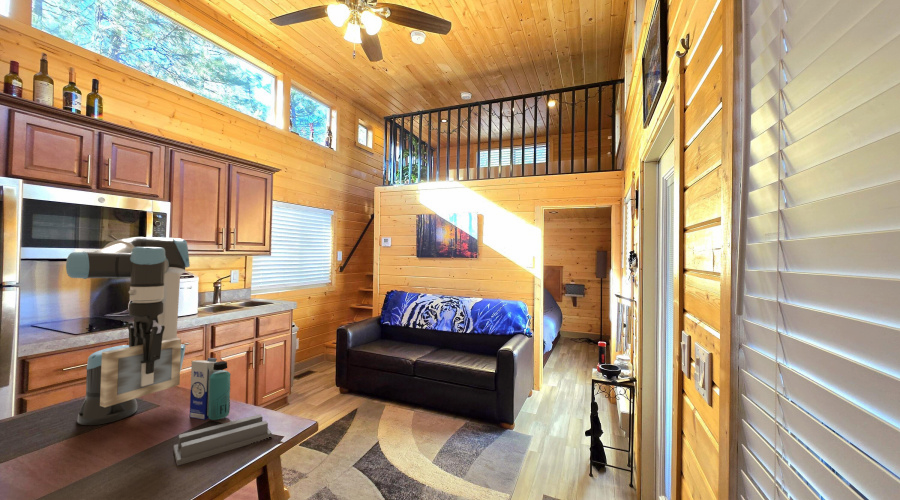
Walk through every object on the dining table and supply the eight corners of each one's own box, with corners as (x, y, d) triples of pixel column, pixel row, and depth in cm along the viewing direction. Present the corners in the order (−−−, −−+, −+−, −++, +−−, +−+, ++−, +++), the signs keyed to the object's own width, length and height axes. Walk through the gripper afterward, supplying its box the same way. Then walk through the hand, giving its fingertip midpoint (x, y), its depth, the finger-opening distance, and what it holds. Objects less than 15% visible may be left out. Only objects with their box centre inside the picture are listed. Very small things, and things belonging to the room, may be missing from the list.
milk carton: (189, 417, 126) (191, 360, 126) (206, 409, 132) (208, 355, 133) (205, 420, 124) (207, 362, 124) (222, 411, 131) (224, 357, 131)
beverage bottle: (218, 425, 121) (221, 365, 121) (202, 423, 122) (204, 364, 122) (234, 416, 127) (236, 360, 127) (218, 414, 129) (220, 358, 129)
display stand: (262, 425, 122) (263, 412, 122) (271, 437, 114) (272, 423, 114) (173, 450, 105) (174, 434, 106) (177, 465, 98) (177, 449, 98)
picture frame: (174, 383, 111) (176, 338, 111) (179, 385, 110) (181, 339, 110) (99, 405, 94) (101, 352, 94) (105, 407, 93) (107, 353, 93)
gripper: (114, 300, 102) (111, 383, 102) (148, 304, 96) (144, 393, 96) (145, 297, 109) (142, 375, 108) (178, 301, 103) (175, 384, 102)
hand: (143, 383), depth 102 cm, fingers closed on picture frame, 3 cm apart
